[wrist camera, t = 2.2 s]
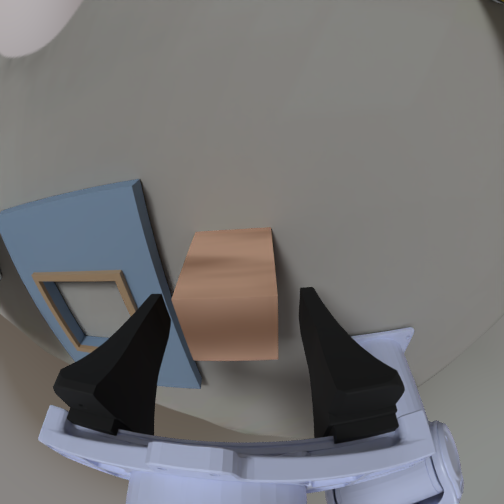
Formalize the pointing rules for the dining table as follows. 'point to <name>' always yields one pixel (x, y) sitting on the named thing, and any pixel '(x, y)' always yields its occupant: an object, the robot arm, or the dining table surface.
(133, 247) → the blue board with hole
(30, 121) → the dining table surface
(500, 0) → the supplement bottle
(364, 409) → the robot arm
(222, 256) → the block
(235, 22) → the dining table surface
